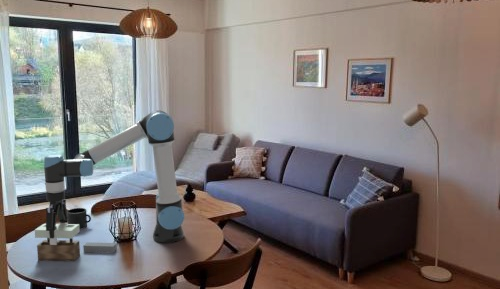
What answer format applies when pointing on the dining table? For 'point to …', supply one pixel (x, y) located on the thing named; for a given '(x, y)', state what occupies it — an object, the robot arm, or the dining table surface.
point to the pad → (100, 247)
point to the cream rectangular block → (58, 231)
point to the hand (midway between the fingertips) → (58, 240)
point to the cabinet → (58, 250)
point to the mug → (78, 217)
